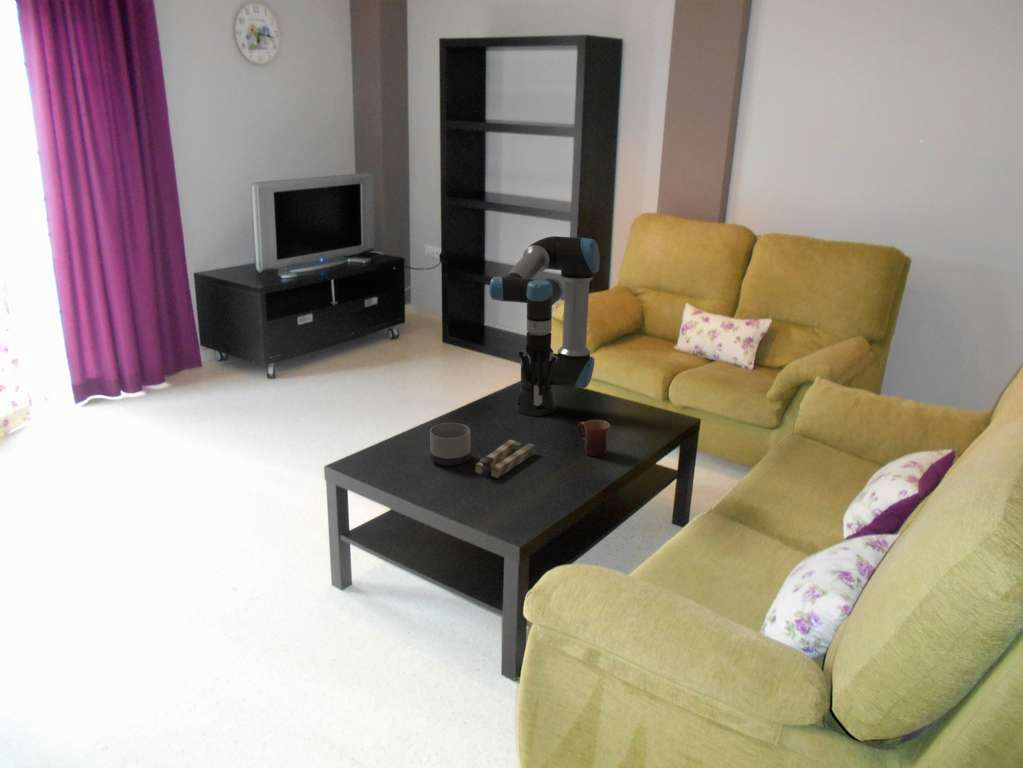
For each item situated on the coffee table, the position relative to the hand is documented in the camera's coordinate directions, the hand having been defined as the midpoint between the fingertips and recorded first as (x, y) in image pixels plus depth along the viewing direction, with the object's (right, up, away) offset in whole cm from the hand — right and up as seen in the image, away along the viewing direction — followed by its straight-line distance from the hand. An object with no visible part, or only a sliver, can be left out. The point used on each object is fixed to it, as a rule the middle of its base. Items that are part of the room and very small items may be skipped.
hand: (537, 403), depth 261 cm
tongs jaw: (-8, -19, +6) cm, 22 cm away
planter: (-28, -19, +10) cm, 35 cm away
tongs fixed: (-12, -19, +8) cm, 24 cm away
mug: (+18, -16, +17) cm, 30 cm away
